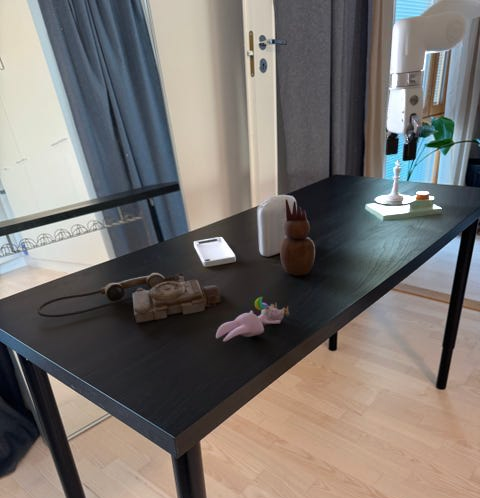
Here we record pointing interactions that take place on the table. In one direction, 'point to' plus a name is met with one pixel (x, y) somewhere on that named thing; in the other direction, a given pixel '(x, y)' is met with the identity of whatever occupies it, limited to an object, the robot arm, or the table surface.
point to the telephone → (154, 297)
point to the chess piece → (395, 185)
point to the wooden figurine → (297, 243)
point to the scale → (405, 209)
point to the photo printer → (272, 223)
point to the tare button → (422, 195)
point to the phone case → (214, 252)
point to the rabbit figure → (252, 321)
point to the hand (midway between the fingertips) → (399, 157)
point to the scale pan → (383, 202)
